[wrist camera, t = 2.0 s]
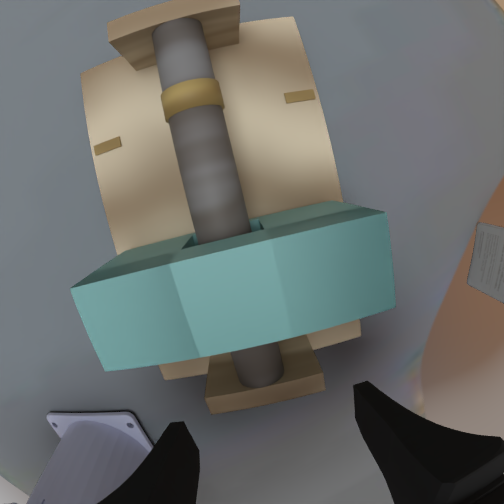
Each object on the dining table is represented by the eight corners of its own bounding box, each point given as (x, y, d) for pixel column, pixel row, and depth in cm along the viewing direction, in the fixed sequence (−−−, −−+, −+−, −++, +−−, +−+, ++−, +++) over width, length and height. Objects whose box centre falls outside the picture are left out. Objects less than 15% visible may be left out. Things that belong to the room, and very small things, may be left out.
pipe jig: (356, 329, 16) (390, 373, 12) (167, 372, 16) (150, 425, 12) (290, 23, 13) (309, -25, 8) (86, 77, 13) (42, 49, 8)
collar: (343, 264, 14) (395, 307, 9) (144, 310, 14) (105, 371, 9) (332, 200, 13) (386, 212, 8) (124, 250, 13) (69, 288, 8)
